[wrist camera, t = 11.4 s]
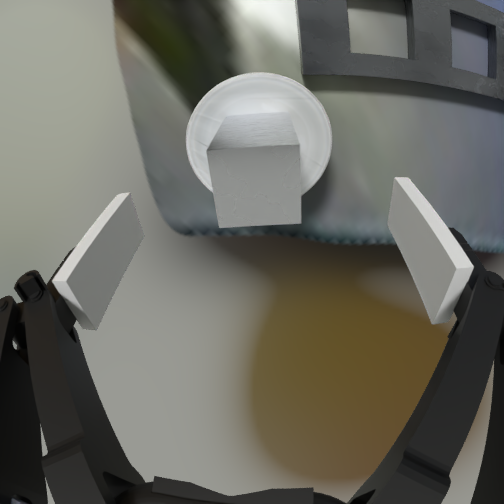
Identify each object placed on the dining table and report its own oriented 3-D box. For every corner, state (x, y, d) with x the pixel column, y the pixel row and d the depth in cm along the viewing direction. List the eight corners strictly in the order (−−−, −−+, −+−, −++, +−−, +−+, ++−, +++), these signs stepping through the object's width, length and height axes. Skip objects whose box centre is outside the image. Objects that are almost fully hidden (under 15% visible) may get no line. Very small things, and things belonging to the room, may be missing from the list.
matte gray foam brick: (288, 111, 20) (299, 144, 14) (291, 167, 23) (301, 223, 16) (225, 116, 20) (206, 151, 14) (232, 171, 23) (219, 227, 17)
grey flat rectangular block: (511, 20, 14) (519, 21, 13) (510, 101, 20) (518, 105, 19) (291, -30, 16) (292, -34, 15) (301, 73, 22) (303, 74, 21)
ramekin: (202, 182, 30) (190, 208, 25) (196, 70, 23) (180, 75, 18) (315, 185, 29) (323, 212, 25) (325, 73, 22) (339, 78, 18)
